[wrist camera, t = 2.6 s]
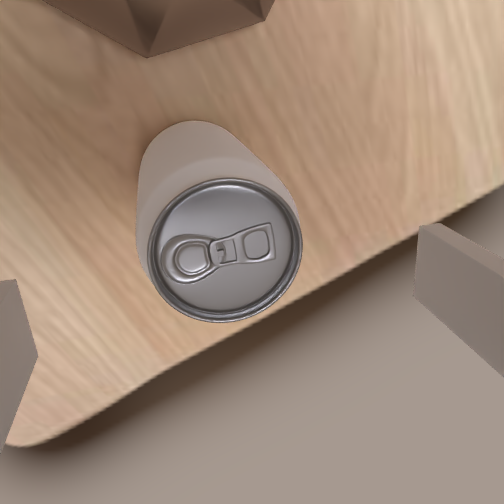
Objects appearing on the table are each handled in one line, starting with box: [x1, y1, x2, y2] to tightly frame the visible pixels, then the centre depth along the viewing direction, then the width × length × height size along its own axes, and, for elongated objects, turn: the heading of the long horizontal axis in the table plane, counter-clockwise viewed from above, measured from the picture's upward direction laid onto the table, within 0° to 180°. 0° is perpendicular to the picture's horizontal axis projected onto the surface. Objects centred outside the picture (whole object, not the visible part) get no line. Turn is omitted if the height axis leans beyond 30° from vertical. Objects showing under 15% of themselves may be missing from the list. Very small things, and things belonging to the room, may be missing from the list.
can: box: [136, 121, 303, 323], centre depth 22 cm, size 6×6×12 cm
